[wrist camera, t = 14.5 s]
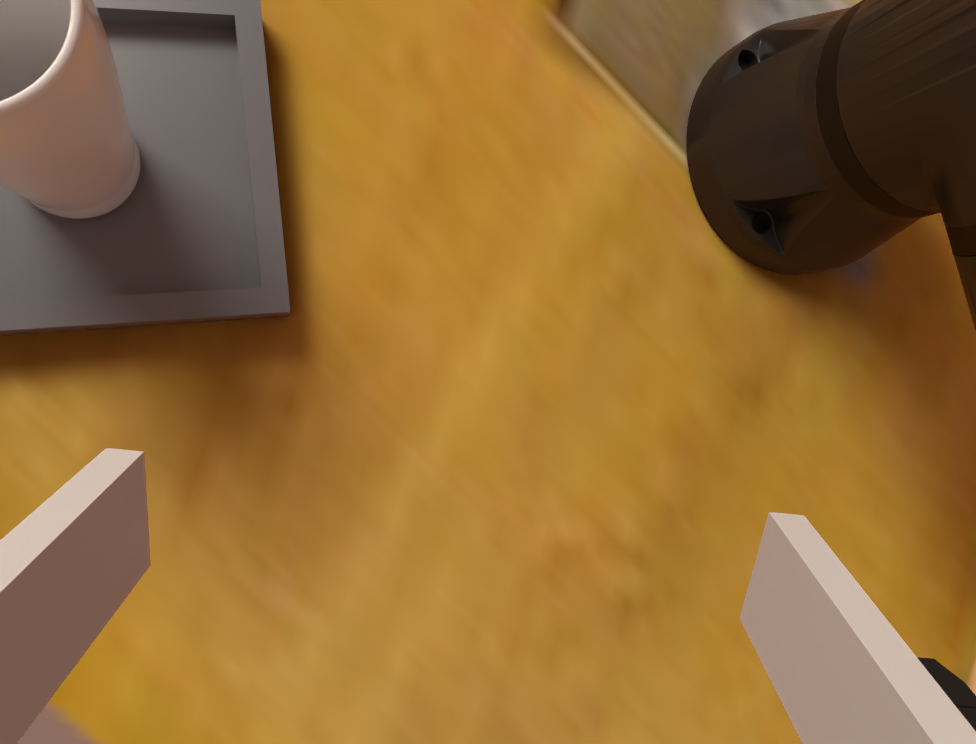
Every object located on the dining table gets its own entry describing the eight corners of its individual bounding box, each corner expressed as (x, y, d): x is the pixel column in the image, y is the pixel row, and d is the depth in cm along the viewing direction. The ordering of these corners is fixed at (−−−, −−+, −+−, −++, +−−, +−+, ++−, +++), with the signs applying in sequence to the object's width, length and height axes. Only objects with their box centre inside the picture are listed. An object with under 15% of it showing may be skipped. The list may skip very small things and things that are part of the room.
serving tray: (259, 16, 36) (259, -10, 33) (288, 316, 36) (290, 311, 34) (-158, -7, 31) (-193, -40, 28) (-120, 343, 31) (-152, 340, 28)
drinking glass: (-43, 187, 31) (-304, 18, 16) (40, 57, 32) (-137, -208, 18) (113, 265, 33) (0, 174, 18) (187, 140, 34) (134, -39, 19)
